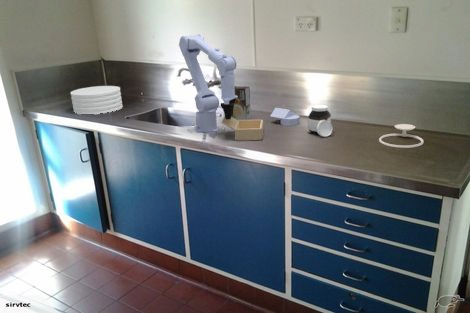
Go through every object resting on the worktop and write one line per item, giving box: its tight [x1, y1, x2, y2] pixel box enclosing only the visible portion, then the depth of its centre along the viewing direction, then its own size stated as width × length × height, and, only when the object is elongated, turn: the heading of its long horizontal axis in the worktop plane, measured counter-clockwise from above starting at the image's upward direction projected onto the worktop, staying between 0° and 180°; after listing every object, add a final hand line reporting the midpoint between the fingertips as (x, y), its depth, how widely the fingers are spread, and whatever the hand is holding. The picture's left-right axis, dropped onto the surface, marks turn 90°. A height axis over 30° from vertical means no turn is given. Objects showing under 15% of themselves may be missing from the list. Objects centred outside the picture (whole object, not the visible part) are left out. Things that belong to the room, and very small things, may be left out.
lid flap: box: [221, 116, 238, 131], centre depth 192 cm, size 6×14×1 cm
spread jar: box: [307, 104, 333, 138], centre depth 189 cm, size 12×11×12 cm
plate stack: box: [70, 85, 123, 115], centre depth 258 cm, size 28×28×12 cm
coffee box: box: [231, 85, 252, 121], centre depth 219 cm, size 9×6×16 cm
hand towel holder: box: [378, 123, 425, 149], centre depth 176 cm, size 17×4×21 cm
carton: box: [234, 119, 264, 141], centre depth 192 cm, size 11×16×5 cm
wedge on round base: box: [270, 107, 300, 127], centre depth 209 cm, size 9×7×13 cm
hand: (229, 116), depth 191 cm, fingers open, 7 cm apart
